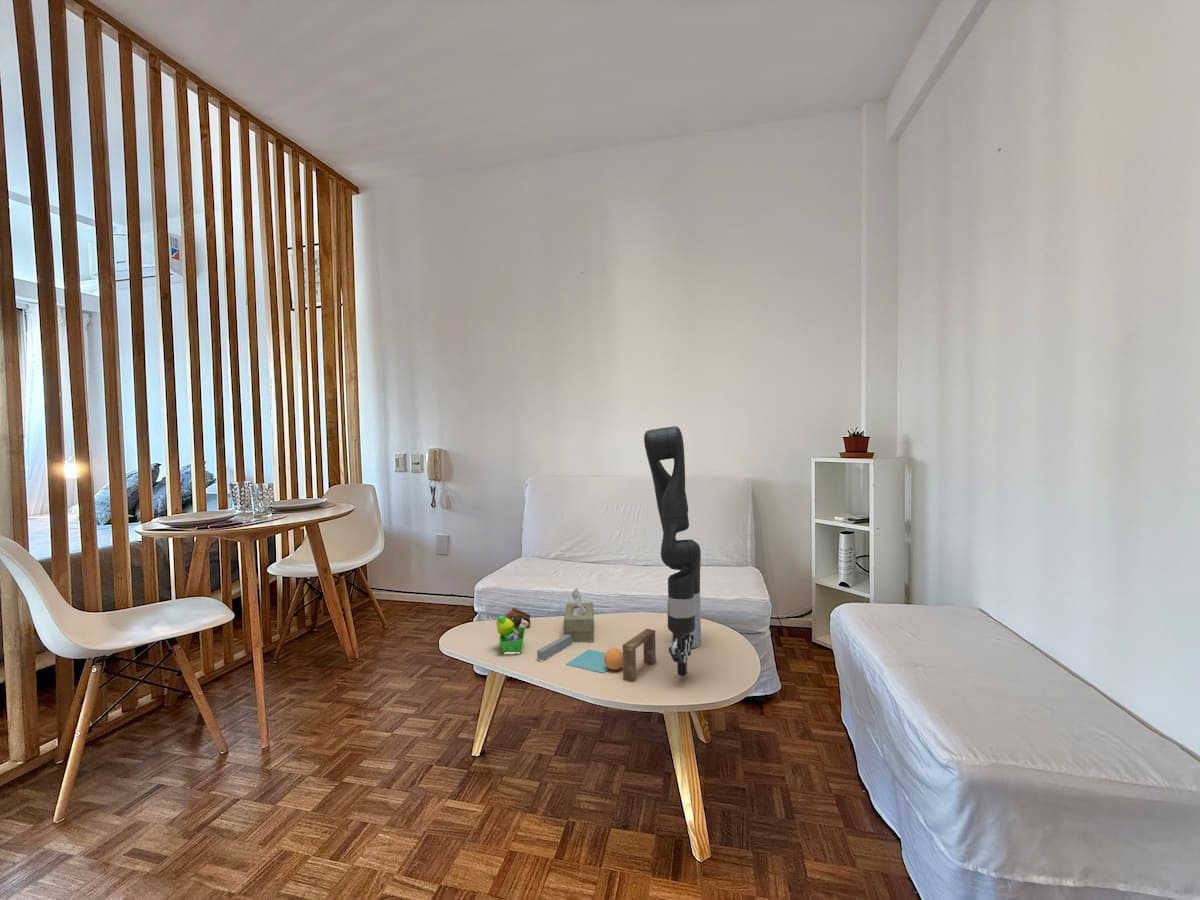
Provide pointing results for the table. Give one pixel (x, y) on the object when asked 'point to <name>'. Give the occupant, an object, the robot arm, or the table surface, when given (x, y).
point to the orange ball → (613, 659)
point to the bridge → (630, 653)
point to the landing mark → (590, 661)
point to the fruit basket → (509, 635)
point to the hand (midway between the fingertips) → (682, 674)
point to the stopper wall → (554, 647)
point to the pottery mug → (518, 617)
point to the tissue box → (579, 619)
